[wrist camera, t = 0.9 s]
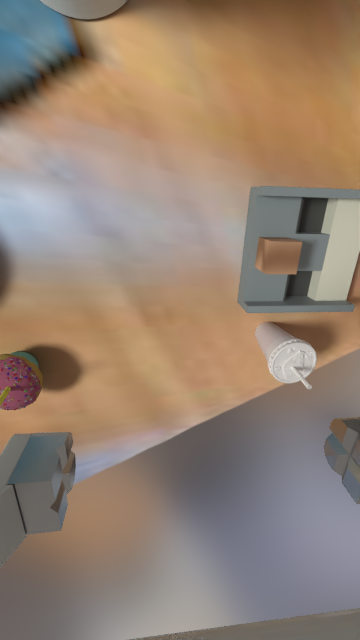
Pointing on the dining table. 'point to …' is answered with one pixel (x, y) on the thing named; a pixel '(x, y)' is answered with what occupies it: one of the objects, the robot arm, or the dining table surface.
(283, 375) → the smoothie
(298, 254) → the terracotta block
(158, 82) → the dining table surface
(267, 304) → the board
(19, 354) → the cupcake
